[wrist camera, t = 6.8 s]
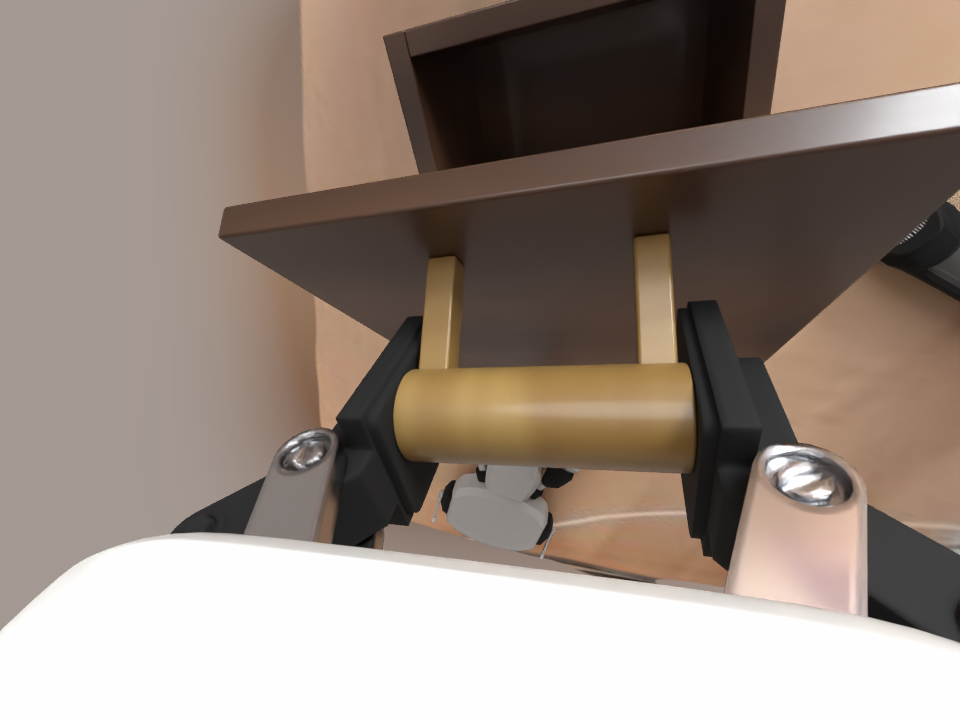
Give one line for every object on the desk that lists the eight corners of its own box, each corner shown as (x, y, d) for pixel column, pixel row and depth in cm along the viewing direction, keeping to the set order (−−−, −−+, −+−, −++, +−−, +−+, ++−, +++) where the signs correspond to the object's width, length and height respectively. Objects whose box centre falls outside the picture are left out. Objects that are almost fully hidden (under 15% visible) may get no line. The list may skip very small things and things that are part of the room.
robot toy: (468, 399, 43) (440, 497, 51) (455, 430, 39) (428, 530, 47) (592, 440, 42) (543, 532, 50) (592, 475, 38) (539, 569, 47)
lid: (223, 206, 10) (169, 447, 9) (1028, 66, 6) (1162, 489, 5) (471, 376, 26) (466, 470, 25) (735, 371, 22) (746, 484, 21)
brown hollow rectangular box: (453, 32, 25) (382, 36, 17) (729, -42, 21) (797, -81, 13) (504, 298, 34) (472, 378, 27) (703, 284, 30) (734, 373, 22)
